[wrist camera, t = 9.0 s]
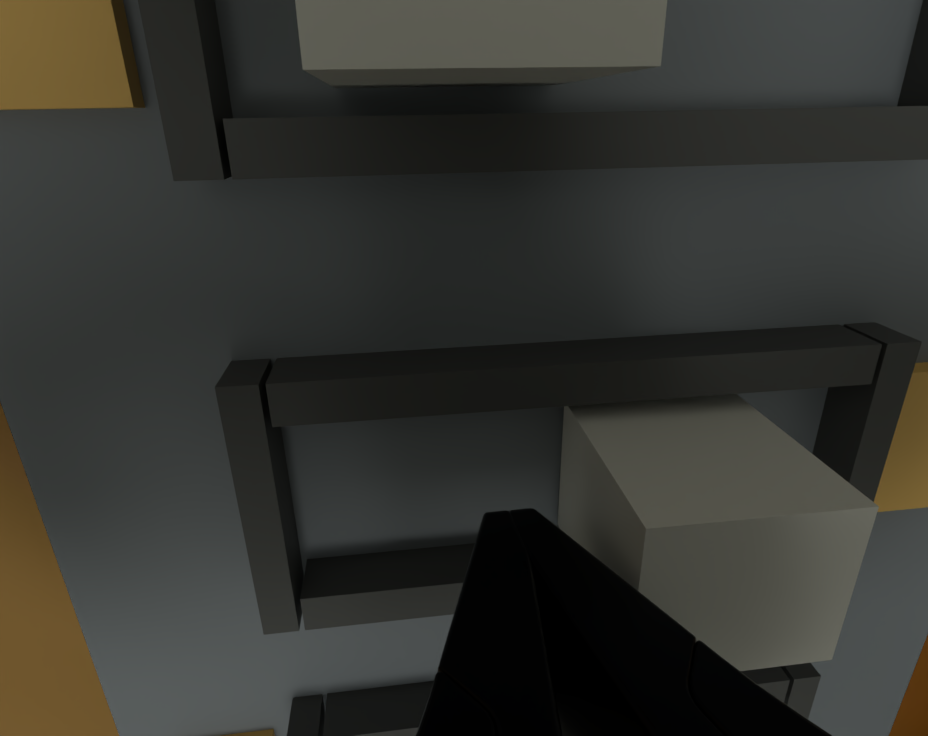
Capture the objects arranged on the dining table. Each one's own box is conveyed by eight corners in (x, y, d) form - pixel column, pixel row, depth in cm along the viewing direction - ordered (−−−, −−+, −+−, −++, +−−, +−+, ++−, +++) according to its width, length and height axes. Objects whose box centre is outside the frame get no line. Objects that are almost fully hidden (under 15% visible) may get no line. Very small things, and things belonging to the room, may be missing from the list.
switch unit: (1138, -299, 9) (1457, -475, 6) (816, 727, 18) (893, 836, 15) (-157, -381, 7) (-485, -681, 5) (201, 812, 16) (164, 954, 14)
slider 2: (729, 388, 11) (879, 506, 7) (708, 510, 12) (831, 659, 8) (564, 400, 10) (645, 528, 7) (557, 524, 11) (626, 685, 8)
